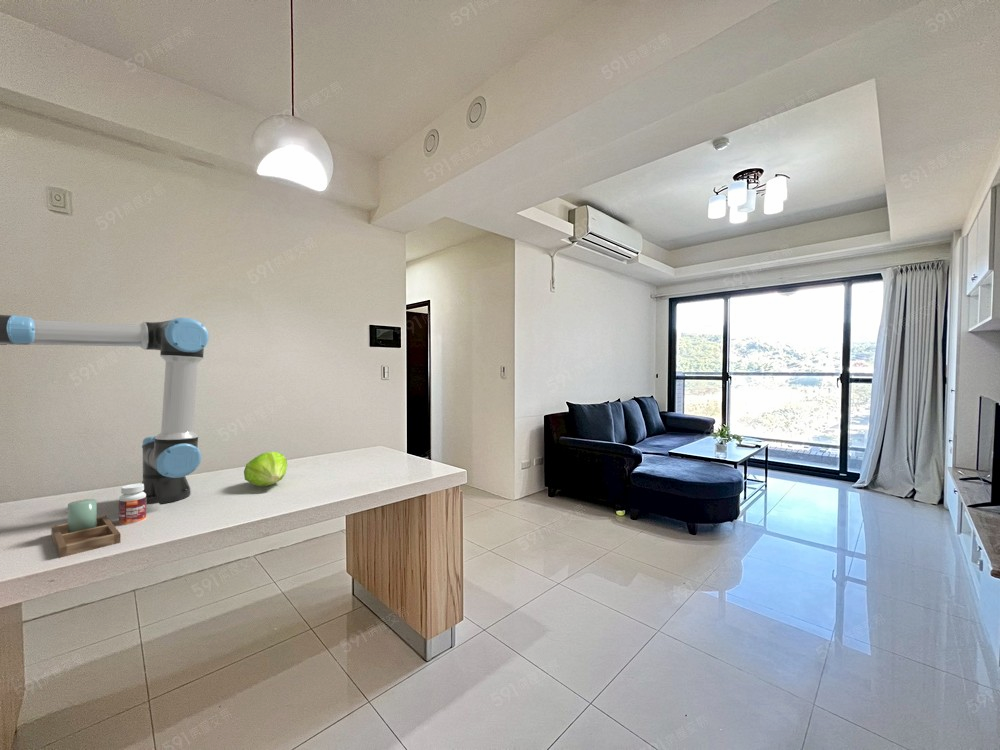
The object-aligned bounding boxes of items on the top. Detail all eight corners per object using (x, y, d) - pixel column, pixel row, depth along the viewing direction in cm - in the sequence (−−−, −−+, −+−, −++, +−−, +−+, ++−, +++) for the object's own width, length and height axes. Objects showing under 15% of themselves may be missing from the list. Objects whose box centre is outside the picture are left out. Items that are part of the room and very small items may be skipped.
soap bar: (95, 528, 116) (94, 497, 116) (98, 533, 113) (98, 501, 112) (66, 534, 112) (66, 502, 112) (69, 539, 108) (69, 507, 108)
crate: (106, 525, 120) (106, 515, 120) (120, 544, 107) (120, 533, 107) (51, 537, 111) (51, 526, 111) (59, 560, 98) (59, 547, 98)
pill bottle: (126, 527, 118) (126, 489, 118) (114, 524, 121) (114, 487, 120) (150, 520, 124) (150, 484, 124) (139, 517, 126) (138, 482, 126)
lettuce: (250, 495, 148) (250, 459, 148) (240, 483, 163) (240, 451, 163) (294, 487, 159) (294, 454, 159) (281, 477, 174) (281, 446, 173)
